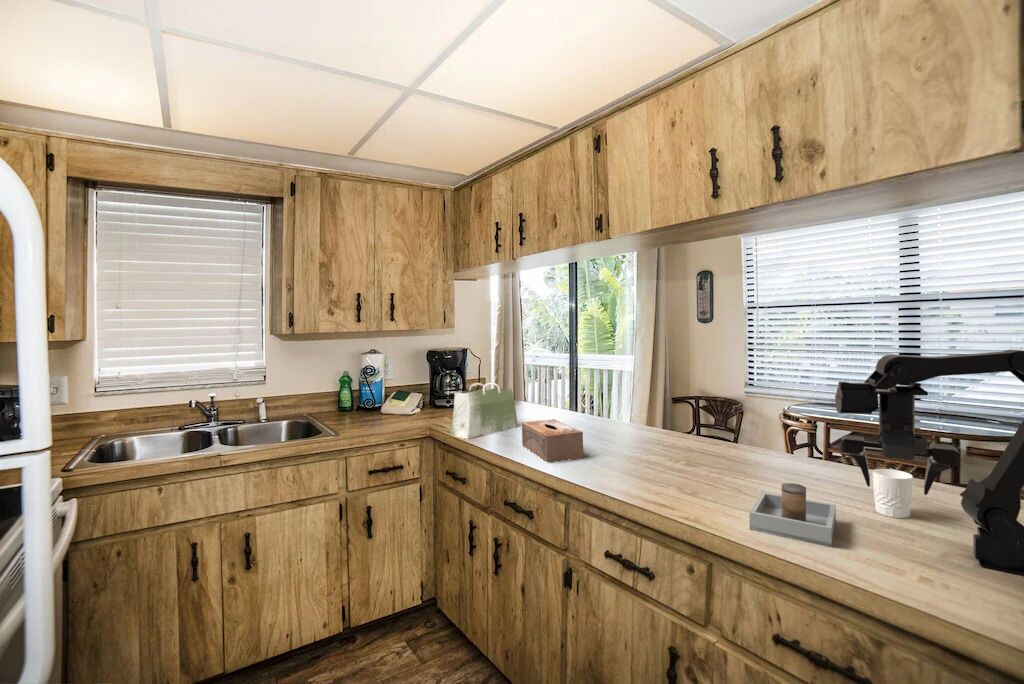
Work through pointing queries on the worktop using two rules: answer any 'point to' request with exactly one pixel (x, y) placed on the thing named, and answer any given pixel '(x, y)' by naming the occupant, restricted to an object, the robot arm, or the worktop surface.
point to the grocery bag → (483, 411)
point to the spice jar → (794, 501)
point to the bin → (813, 530)
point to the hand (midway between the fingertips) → (896, 490)
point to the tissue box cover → (552, 440)
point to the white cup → (892, 492)
